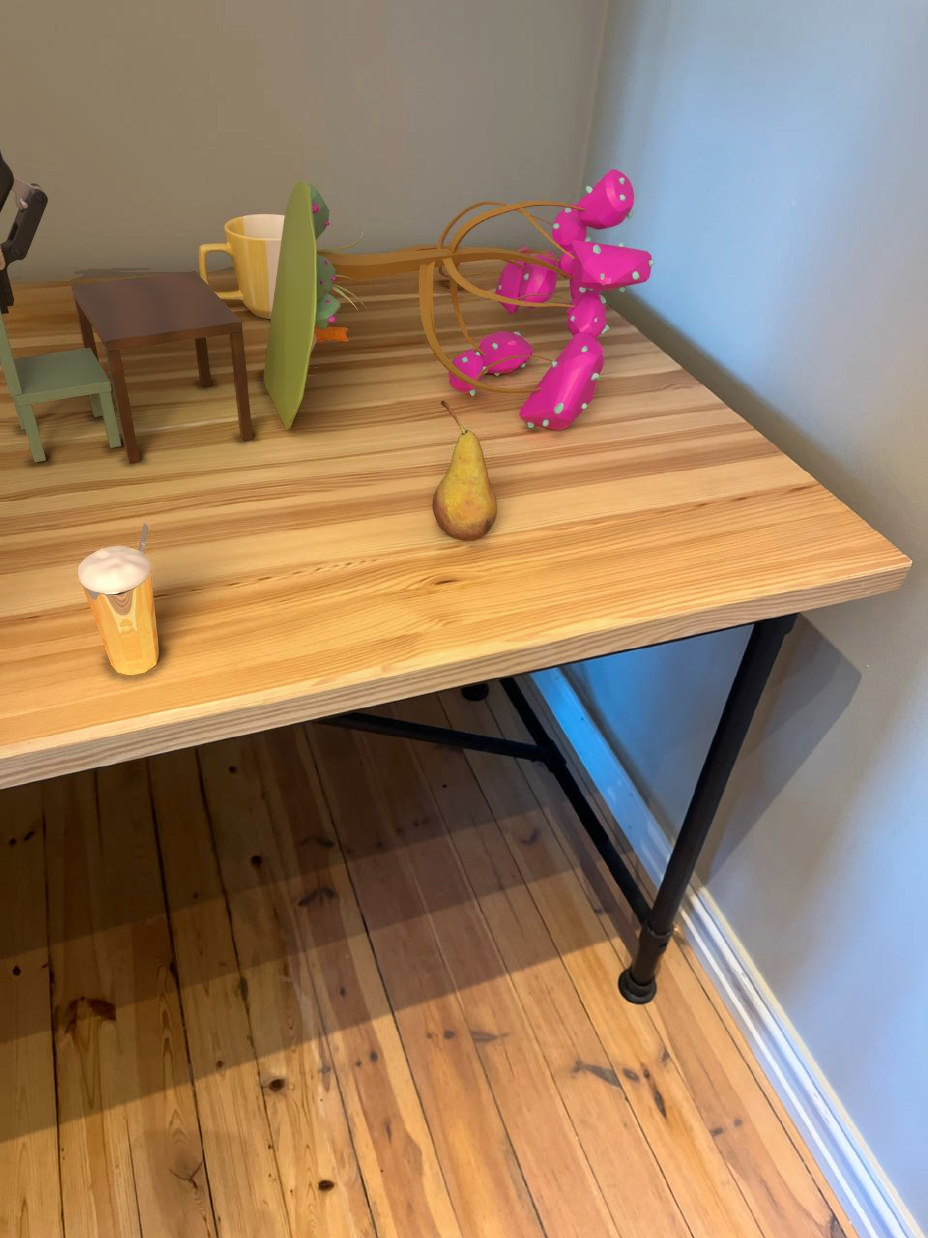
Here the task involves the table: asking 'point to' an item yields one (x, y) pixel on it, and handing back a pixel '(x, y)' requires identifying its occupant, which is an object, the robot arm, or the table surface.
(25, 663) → the table surface
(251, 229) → the mug
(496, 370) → the green and pink pieces
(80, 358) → the chair
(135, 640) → the milkshake
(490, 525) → the fruit
